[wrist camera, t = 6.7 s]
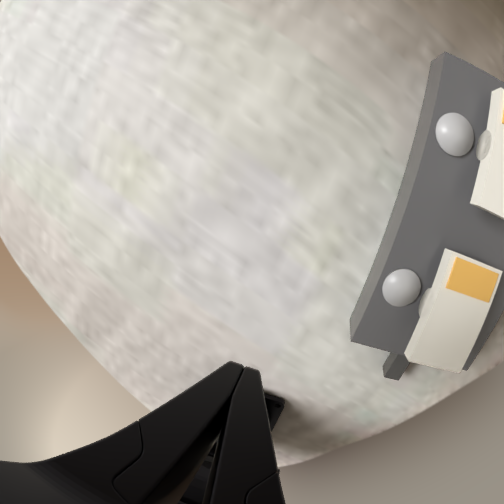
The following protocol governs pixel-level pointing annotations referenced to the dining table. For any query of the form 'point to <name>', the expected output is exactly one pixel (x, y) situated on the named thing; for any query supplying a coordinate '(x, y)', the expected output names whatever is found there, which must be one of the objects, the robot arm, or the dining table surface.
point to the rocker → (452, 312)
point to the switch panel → (433, 215)
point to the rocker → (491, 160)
